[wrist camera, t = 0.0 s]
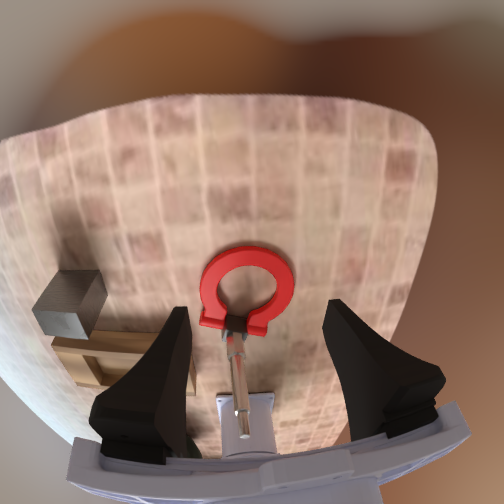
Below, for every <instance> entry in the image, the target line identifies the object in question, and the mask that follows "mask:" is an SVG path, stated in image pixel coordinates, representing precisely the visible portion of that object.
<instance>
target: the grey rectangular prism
mask: <svg viewBox="0 0 504 504" xmlns="http://www.w3.org/2000/svg"><path fill="white" fill-rule="evenodd" d="M107 296H108V295H107V292H106V289H105V286H104V282H103V279H102V276H101V273H100V270H59V271H58V272H57V273H56V275H55V276H54V277H53V279H52V280H51V282H50V283H49V284H48V286H47V287H46V289H45V290H44V292H43V293H42V295H41V296H40V298H39V299H38V301H37V302H36V304H35V305H34V307H33V308H32V311H33V313H34V315H35V317H36V319H37V321H38V323H39V325H40V327H41V328H42V330H43V332H44V334H45V335H50V336H58V337H66V338H76V339H86V340H89V337H90V335H91V333H92V330H93V328H94V325H95V323H96V321H97V318H98V316H99V314H100V312H101V309H102V307H103V305H104V303H105V301H106V298H107Z"/></svg>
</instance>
